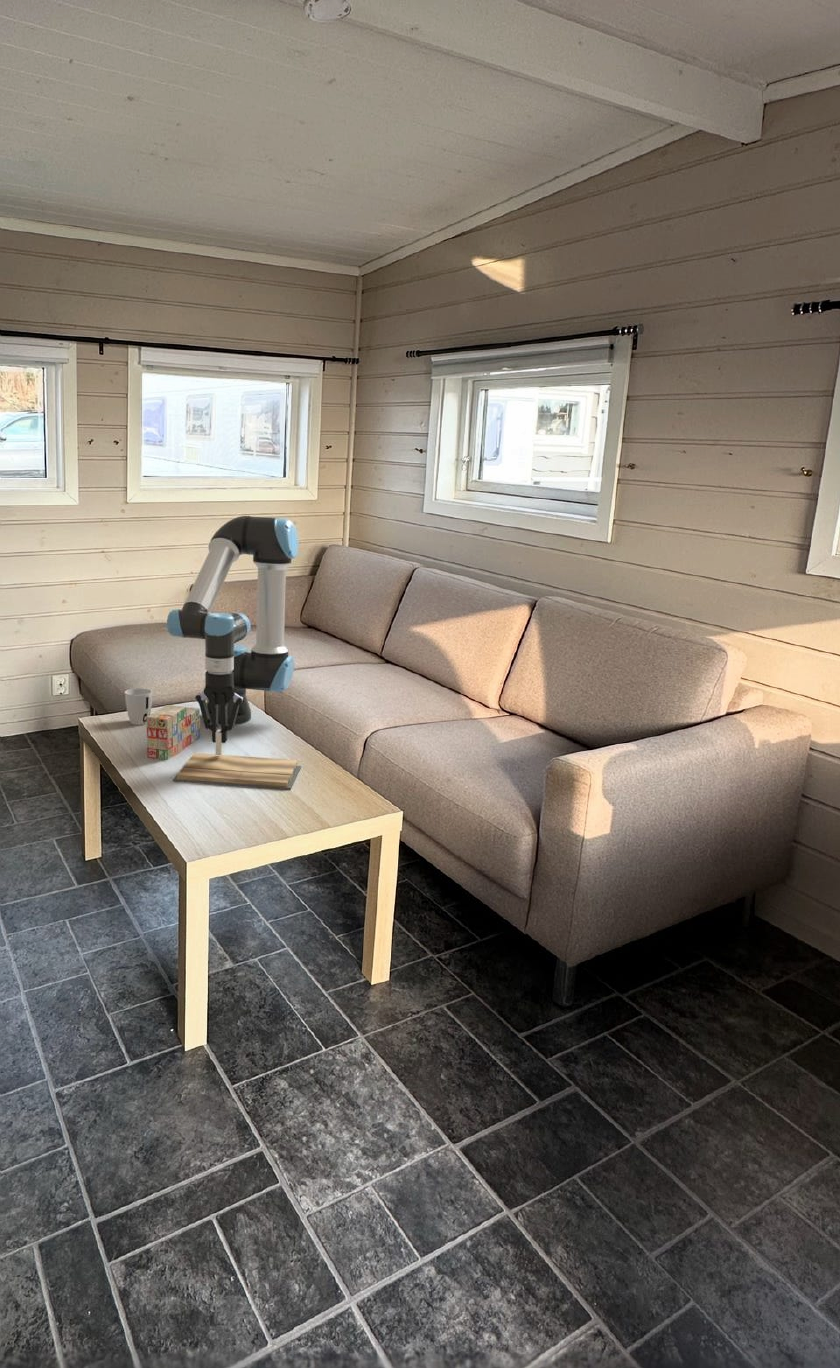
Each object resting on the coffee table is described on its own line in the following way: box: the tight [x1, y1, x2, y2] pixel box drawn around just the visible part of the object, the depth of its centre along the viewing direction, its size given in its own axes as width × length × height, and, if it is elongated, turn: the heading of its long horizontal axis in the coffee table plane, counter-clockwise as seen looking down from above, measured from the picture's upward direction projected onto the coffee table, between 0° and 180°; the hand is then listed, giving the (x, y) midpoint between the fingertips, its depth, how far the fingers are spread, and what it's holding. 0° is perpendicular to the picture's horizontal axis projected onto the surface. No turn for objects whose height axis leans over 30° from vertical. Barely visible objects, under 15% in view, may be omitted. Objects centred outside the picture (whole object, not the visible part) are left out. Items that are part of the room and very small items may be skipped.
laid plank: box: [176, 767, 291, 787], centre depth 240 cm, size 6×29×1 cm, turn 88°
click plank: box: [183, 752, 298, 778], centre depth 248 cm, size 10×29×1 cm, turn 88°
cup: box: [124, 687, 153, 726], centre depth 282 cm, size 8×8×10 cm
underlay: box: [172, 764, 302, 791], centre depth 245 cm, size 17×31×1 cm, turn 88°
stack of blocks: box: [146, 704, 201, 761], centre depth 262 cm, size 21×6×12 cm, turn 169°
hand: (219, 753), depth 251 cm, fingers closed
